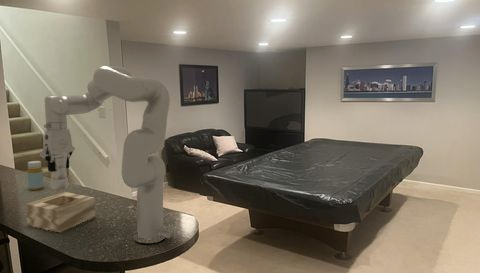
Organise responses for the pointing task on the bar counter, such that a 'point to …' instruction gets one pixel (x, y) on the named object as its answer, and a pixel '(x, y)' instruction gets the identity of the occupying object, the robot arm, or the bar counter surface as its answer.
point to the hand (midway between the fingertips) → (58, 169)
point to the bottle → (35, 175)
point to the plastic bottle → (59, 172)
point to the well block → (60, 211)
